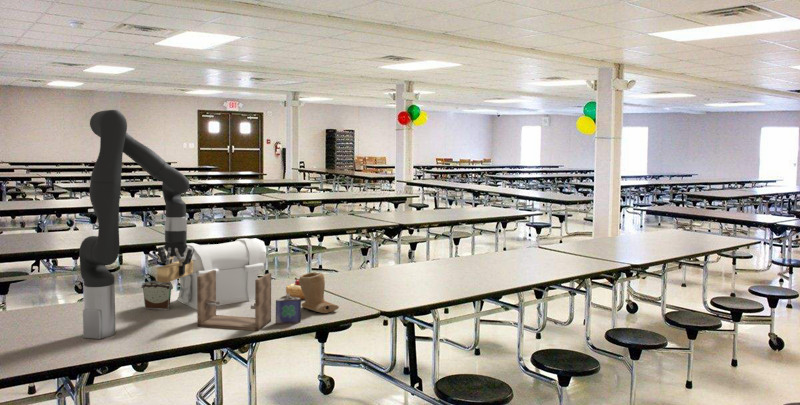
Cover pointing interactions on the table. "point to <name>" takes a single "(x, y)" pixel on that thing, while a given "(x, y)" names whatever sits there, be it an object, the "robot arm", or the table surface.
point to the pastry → (295, 290)
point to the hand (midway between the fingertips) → (175, 274)
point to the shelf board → (172, 271)
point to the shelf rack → (210, 319)
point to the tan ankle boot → (315, 293)
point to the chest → (225, 270)
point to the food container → (157, 294)
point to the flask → (288, 310)
